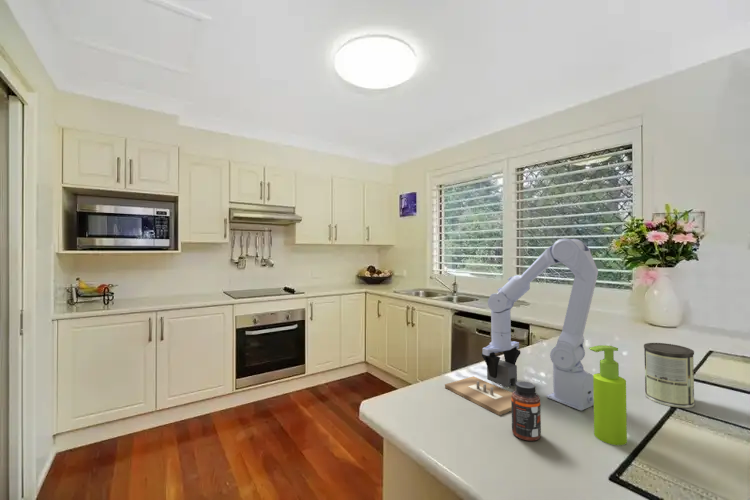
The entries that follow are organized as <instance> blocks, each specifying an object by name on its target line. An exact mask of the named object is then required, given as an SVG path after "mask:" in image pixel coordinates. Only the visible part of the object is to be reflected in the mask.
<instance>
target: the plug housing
mask: <svg viewBox="0 0 750 500" xmlns="http://www.w3.org/2000/svg"><path fill="white" fill-rule="evenodd" d="M486 379H487V380H489V381H491V382H493V383H496V384H498V385H500V384H501V386H504V387H505V386H506V387H505V388H508V387H509V388H511V385H513V386H516V383H517V382H518V367H517V364H515V365H514V364H511V363H508V362H505V360H503V359H500V360H499V363H498V368H497V378H493V377H491V376H490V375H489V371H488V367H487V366H486Z"/></svg>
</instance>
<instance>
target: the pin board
mask: <svg viewBox="0 0 750 500" xmlns="http://www.w3.org/2000/svg"><path fill="white" fill-rule="evenodd" d="M444 388H445V389H447V390H449V391H451V392H452V393H455V394H457V395H459V396H460V397H462V398H464V399H466V400H468V401H470V402H472V403H473V404H475V405H478V406H480V407H482V408H483V409H486V410H487V411H490V412H492V413H493V414H496V415H497V416H502V415H504V414H508V413H510V412H512V405H511V400H512V399H511V396H512V393H513V391H509V390H507V389H504V388H503V387H500V386H497V385H495V384H493V383H491V382H488V381H486V380H483V379H481V378H479V377H475V376H470V377H467V378H463V379H458V380H456V381H451V382H449V383H445V384H444ZM509 411H510V412H509Z"/></svg>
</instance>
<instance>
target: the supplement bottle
mask: <svg viewBox="0 0 750 500" xmlns="http://www.w3.org/2000/svg"><path fill="white" fill-rule="evenodd" d="M536 390H537V389H536V385H535V384H534V383H533V382H531V381H530V382H529V381H523V380H522V381H519V380H518V381H517V383H516V385H515V390H514V391H512V396H511V399H512V400H511V405H512V411H511V431H512V433H513V435H514V436H515V437H517V438H519V439H520V440H523V441H529V442H535V441H538V440H539V439H540V438H541V435H542V428H541V427H542V425H541V424H542V422H541V421H542V420H541V419H542V418H541V415H542V414H541V408H542V407H541V406H542V405H541V398H540V396H539V395H538V394H537V393H536Z"/></svg>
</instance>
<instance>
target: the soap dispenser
mask: <svg viewBox="0 0 750 500" xmlns="http://www.w3.org/2000/svg"><path fill="white" fill-rule="evenodd" d="M588 350H589V351H592V352H595V353H598V352H603V353H604V354H603V355H604V356H603V359H600V360H599V372H598V373H594V374H592V375H593V391H594V405H593V434H594V436H595V438H597V439H598V440H599V441H602V442H603V443H605V444H608V445H613V446H625V445H626V444H627V443H628V429H627V427H628V424H627V423H628V421H627V417H628V416H627V381H626V379H625V378H623V377H622V376H620V374H619V373H620V372H619V371H620V370H619V369H620V368H619V362H618V361H616V360H615V358H614V357H615V356H614V355H615V353H614V352H615V351H616V352H618V351H619V347H615V346H614V345H613V346H612V345H606V344H604V345H601V344H600V345H595V346H591V347H589V348H588Z"/></svg>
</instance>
